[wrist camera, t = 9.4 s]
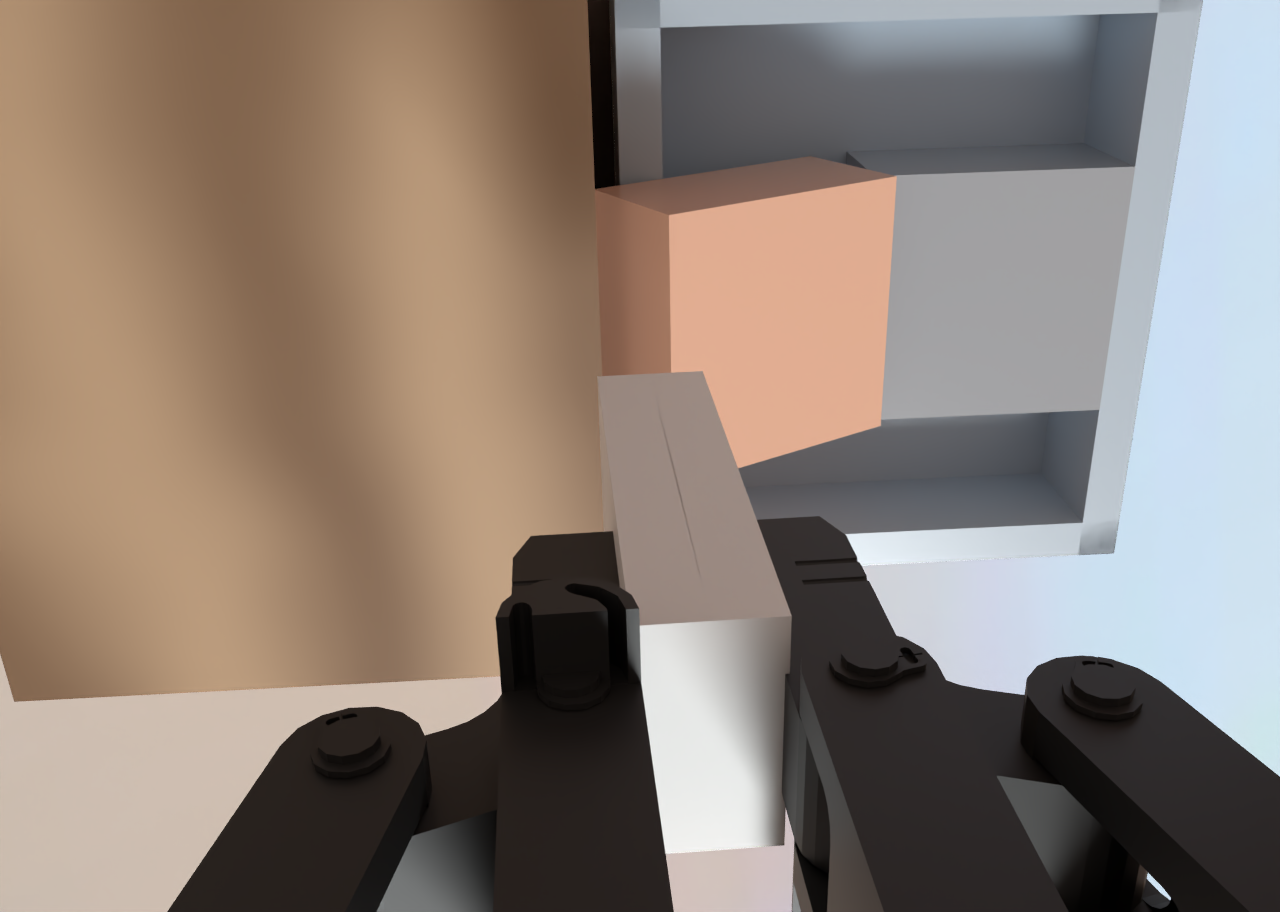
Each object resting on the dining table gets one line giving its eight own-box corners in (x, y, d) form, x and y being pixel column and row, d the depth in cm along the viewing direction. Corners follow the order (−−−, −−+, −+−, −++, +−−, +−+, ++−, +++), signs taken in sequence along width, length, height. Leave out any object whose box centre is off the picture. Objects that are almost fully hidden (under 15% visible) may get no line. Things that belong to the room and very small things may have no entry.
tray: (625, 513, 29) (632, 576, 26) (608, -29, 24) (613, -20, 21) (1062, 492, 29) (1113, 553, 26) (1136, -44, 24) (1208, -37, 21)
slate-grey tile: (1099, 409, 25) (1054, 367, 27) (1135, 166, 23) (1083, 142, 25) (860, 420, 25) (835, 377, 27) (874, 176, 23) (846, 151, 25)
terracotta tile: (603, 441, 24) (672, 487, 22) (593, 189, 22) (668, 215, 20) (802, 388, 26) (880, 425, 24) (810, 156, 24) (896, 175, 22)
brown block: (101, 575, 29) (14, 701, 24) (-55, -67, 23) (-208, -60, 18) (606, 550, 29) (613, 669, 25) (580, -84, 23) (584, -81, 19)
